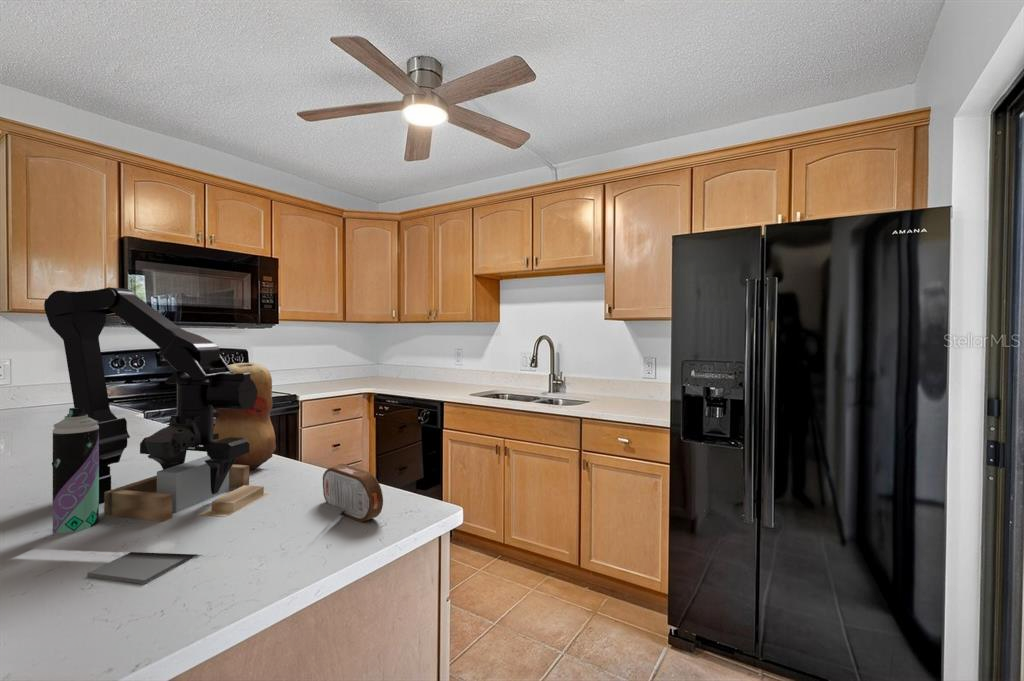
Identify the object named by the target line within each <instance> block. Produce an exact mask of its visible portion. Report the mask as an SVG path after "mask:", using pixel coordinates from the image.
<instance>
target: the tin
mask: <svg viewBox="0 0 1024 681" xmlns="http://www.w3.org/2000/svg"><path fill="white" fill-rule="evenodd" d="M322 489H323V490H322V493H323V497H324V500H325V502H326V503H327V504H329V505H332V506H335V507H337V508H339V509H342V511H341V512H340V514H341V515H342V516H346V517H348V518H350V519H352V520H354V519H355V521H357V522H360V523H363V522H366V521H369V520H372V519H375V518H377V517H378V516H379V515H380V514H381V512H382V509H383V507H384V497H383V496H384V495H383V490H382V487H381V485H380V483H379V481H378V479H377V477H375V475H374V474H372V473H371V472H369V471H366V470H363V469H360V468H358V467H354V466H351V465H348V464H346V463H339V464H337V465H333V466H331V467H329V468H327V469H326V470H325V471H324V473H323V475H322Z"/></svg>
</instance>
